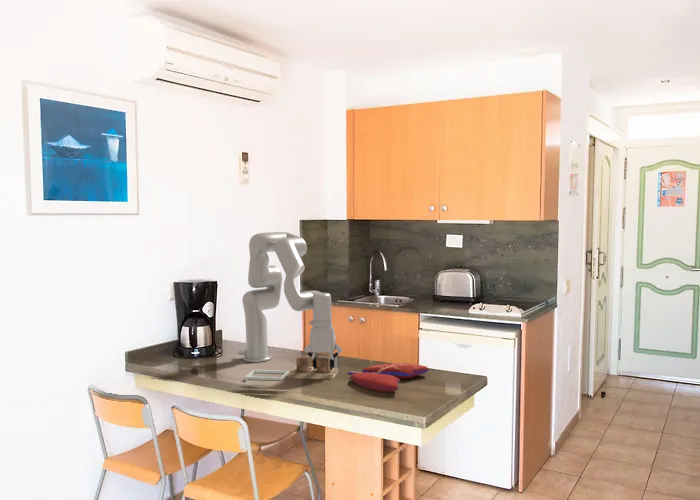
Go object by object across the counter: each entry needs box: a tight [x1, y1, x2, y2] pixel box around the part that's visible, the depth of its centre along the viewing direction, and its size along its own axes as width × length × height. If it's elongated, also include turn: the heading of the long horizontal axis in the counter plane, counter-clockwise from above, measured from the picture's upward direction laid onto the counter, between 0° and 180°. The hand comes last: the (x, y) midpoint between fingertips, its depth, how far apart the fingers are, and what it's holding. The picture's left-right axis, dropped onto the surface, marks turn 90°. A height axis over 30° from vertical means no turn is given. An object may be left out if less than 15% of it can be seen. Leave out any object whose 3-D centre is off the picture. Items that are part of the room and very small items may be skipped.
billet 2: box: [316, 355, 330, 374], centre depth 242 cm, size 4×6×7 cm, turn 170°
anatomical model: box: [347, 362, 430, 393], centre depth 237 cm, size 30×7×30 cm
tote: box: [244, 369, 290, 382], centre depth 243 cm, size 15×10×2 cm
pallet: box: [287, 366, 339, 380], centre depth 244 cm, size 18×11×3 cm, turn 79°
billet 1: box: [295, 354, 311, 373], centre depth 244 cm, size 4×6×7 cm, turn 169°
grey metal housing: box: [330, 356, 338, 368], centre depth 253 cm, size 6×5×6 cm
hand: (323, 368), depth 243 cm, fingers open, 6 cm apart
